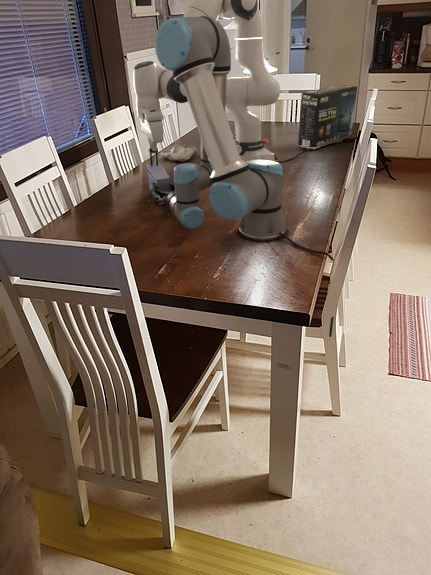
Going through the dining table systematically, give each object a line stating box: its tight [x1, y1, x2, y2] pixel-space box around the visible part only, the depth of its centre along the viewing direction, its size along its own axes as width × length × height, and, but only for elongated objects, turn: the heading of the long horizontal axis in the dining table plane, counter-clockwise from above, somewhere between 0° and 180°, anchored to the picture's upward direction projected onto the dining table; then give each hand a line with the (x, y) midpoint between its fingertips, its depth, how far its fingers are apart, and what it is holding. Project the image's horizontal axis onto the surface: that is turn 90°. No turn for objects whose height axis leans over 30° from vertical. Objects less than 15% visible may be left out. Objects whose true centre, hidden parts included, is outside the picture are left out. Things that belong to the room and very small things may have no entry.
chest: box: [147, 172, 172, 206], centre depth 179 cm, size 14×5×9 cm, turn 21°
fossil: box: [160, 142, 199, 163], centre depth 229 cm, size 18×11×15 cm
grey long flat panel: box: [146, 147, 171, 183], centre depth 173 cm, size 14×5×8 cm, turn 21°
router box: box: [297, 84, 358, 151], centre depth 238 cm, size 36×11×27 cm, turn 134°
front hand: (161, 184), depth 175 cm, fingers closed on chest, 5 cm apart
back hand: (153, 149), depth 174 cm, fingers closed, pressing on grey long flat panel
